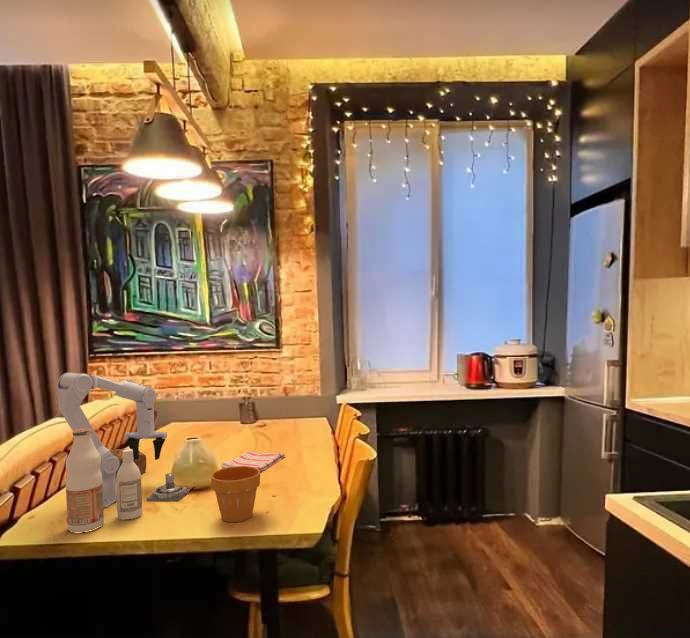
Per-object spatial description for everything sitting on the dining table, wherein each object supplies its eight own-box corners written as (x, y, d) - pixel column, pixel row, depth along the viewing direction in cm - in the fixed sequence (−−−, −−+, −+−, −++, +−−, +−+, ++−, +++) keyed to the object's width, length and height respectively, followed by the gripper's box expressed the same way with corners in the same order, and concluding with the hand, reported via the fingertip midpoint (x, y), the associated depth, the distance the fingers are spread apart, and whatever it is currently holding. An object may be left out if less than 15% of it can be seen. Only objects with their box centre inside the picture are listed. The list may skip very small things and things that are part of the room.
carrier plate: (179, 501, 167) (178, 489, 167) (146, 501, 168) (145, 489, 168) (196, 485, 182) (196, 474, 182) (166, 485, 183) (165, 474, 183)
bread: (86, 480, 192) (85, 453, 192) (103, 471, 203) (102, 446, 203) (134, 480, 190) (133, 453, 190) (148, 471, 201) (147, 446, 201)
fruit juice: (74, 537, 142) (70, 435, 141) (62, 528, 148) (58, 431, 148) (109, 526, 149) (105, 429, 148) (96, 518, 155) (92, 425, 155)
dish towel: (219, 472, 199) (219, 463, 199) (250, 455, 221) (249, 447, 221) (258, 475, 193) (258, 466, 193) (286, 458, 215) (285, 449, 215)
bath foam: (146, 515, 156) (144, 449, 156) (123, 523, 151) (121, 454, 150) (136, 510, 161) (133, 446, 160) (113, 517, 155) (111, 450, 155)
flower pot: (240, 504, 163) (239, 463, 163) (271, 514, 154) (269, 470, 154) (202, 519, 152) (201, 474, 152) (233, 530, 143) (231, 484, 143)
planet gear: (177, 495, 170) (177, 477, 170) (156, 496, 170) (155, 478, 170) (183, 488, 177) (183, 470, 177) (163, 489, 177) (162, 471, 177)
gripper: (170, 417, 185) (171, 455, 185) (131, 418, 186) (132, 456, 187) (161, 422, 178) (163, 461, 178) (121, 422, 179) (122, 461, 180)
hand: (146, 459), depth 182 cm, fingers open, 7 cm apart
